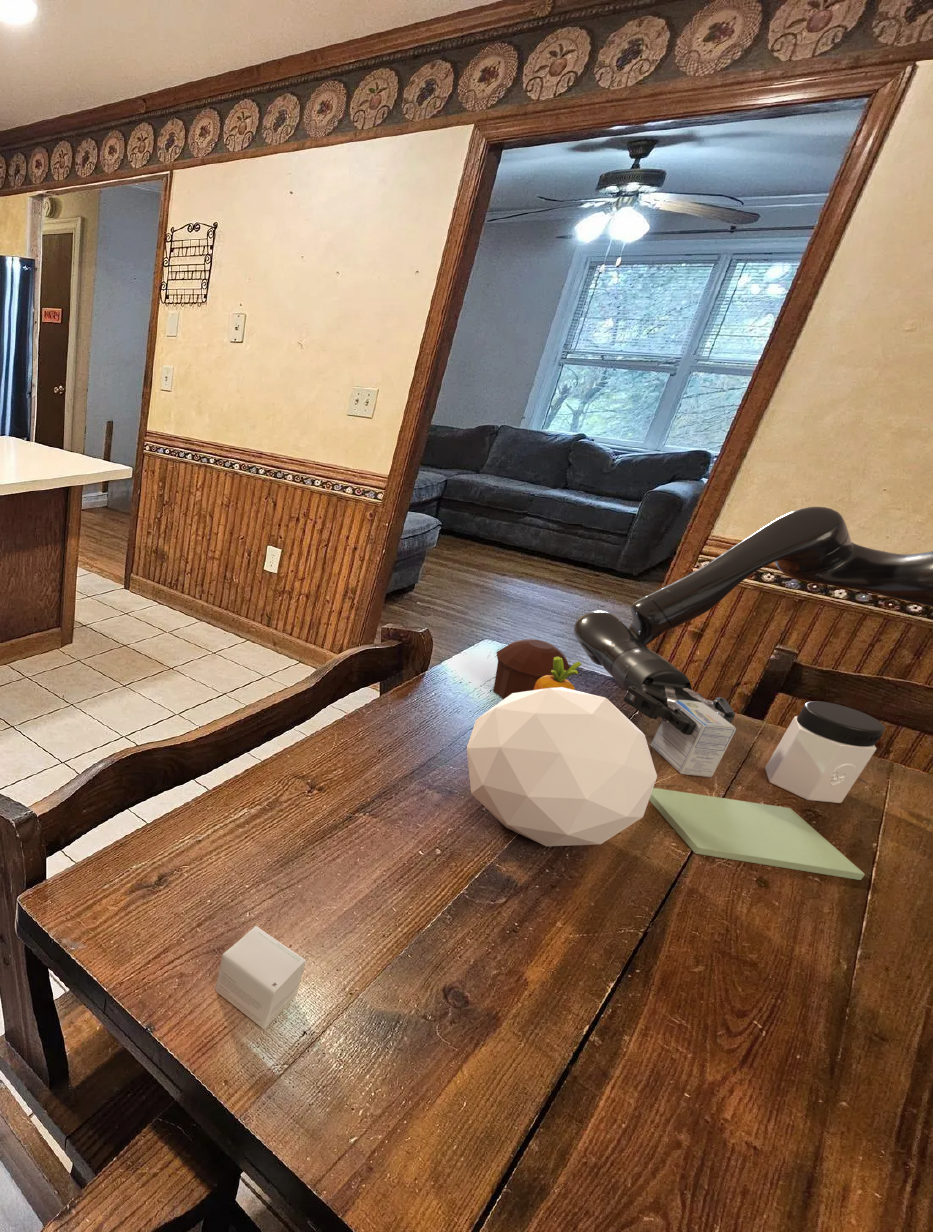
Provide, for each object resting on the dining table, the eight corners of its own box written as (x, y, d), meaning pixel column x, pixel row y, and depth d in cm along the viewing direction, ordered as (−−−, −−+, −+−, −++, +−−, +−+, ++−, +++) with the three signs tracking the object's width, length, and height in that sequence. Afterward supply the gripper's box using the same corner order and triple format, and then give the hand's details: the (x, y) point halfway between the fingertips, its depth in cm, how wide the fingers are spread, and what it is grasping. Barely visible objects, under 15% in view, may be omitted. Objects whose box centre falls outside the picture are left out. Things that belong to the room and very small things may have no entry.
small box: (298, 996, 68) (308, 959, 65) (264, 1033, 64) (274, 995, 62) (247, 958, 71) (255, 922, 69) (212, 991, 68) (220, 954, 65)
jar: (791, 800, 101) (835, 727, 96) (747, 766, 108) (786, 697, 103) (859, 806, 101) (907, 734, 95) (810, 772, 108) (852, 703, 103)
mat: (786, 813, 98) (790, 807, 98) (861, 880, 87) (865, 874, 86) (641, 791, 101) (644, 786, 101) (694, 853, 89) (698, 847, 89)
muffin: (501, 674, 133) (518, 625, 128) (567, 699, 125) (588, 647, 121) (473, 692, 126) (491, 640, 121) (542, 719, 118) (564, 665, 114)
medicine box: (712, 779, 105) (739, 728, 101) (679, 774, 105) (705, 724, 102) (679, 749, 112) (704, 701, 108) (648, 745, 112) (672, 697, 109)
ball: (496, 882, 93) (451, 791, 83) (483, 759, 106) (443, 669, 96) (685, 878, 81) (658, 772, 72) (644, 741, 95) (617, 636, 85)
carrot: (550, 741, 112) (585, 656, 105) (551, 756, 108) (587, 668, 102) (514, 731, 114) (547, 647, 108) (513, 745, 110) (547, 659, 104)
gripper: (687, 704, 119) (754, 761, 104) (593, 692, 121) (645, 746, 106) (707, 664, 116) (779, 717, 100) (610, 652, 118) (666, 702, 103)
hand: (710, 731), depth 103 cm, fingers closed on medicine box, 4 cm apart
